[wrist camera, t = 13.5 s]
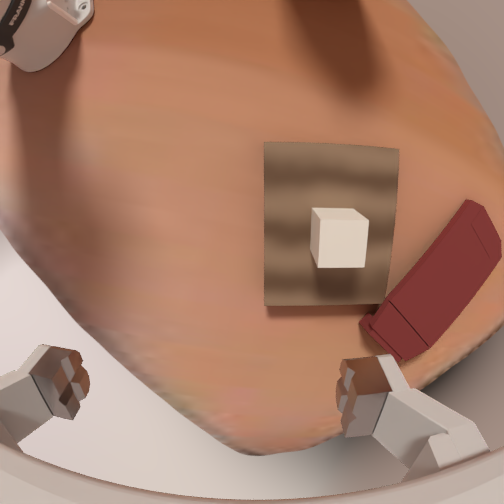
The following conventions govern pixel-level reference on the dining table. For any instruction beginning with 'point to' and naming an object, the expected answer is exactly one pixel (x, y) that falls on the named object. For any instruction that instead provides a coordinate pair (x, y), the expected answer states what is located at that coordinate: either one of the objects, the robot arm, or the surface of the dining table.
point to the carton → (437, 285)
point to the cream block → (338, 237)
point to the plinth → (326, 196)
